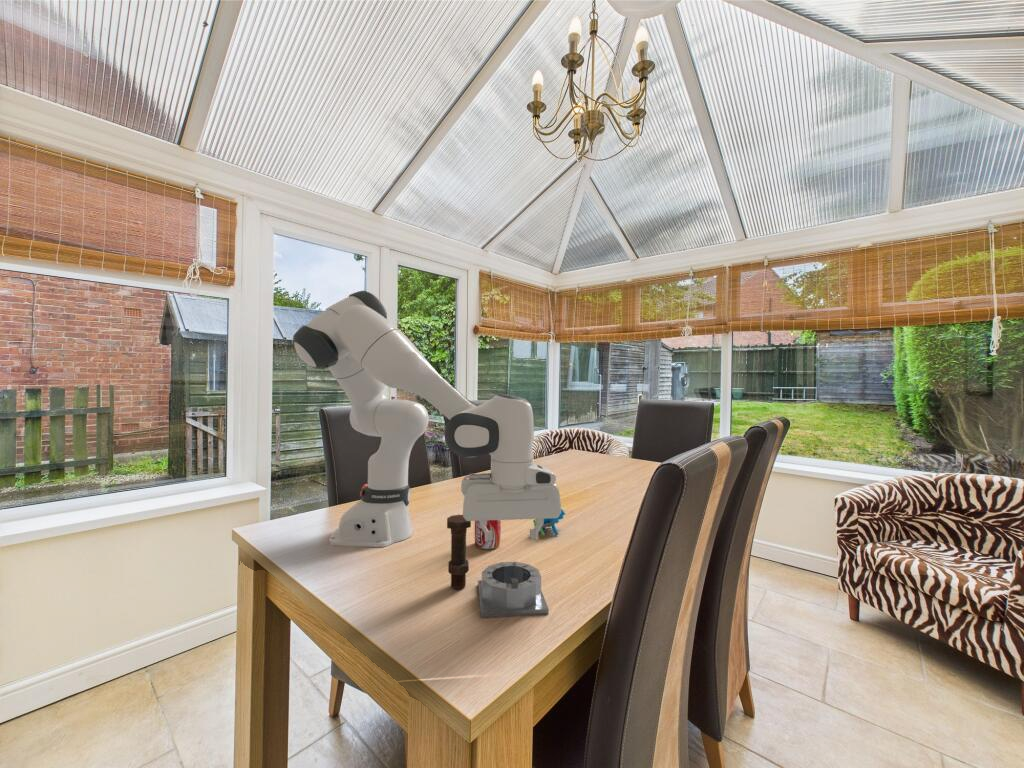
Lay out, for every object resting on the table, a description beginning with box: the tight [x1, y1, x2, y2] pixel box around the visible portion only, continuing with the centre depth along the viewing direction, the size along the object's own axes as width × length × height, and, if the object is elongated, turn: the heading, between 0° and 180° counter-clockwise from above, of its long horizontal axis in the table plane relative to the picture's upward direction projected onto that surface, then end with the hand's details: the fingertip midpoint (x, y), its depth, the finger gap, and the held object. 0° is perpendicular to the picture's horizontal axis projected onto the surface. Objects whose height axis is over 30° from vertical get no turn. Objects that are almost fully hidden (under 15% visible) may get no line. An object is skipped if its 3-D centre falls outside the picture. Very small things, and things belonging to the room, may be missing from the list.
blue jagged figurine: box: [532, 508, 566, 536], centre depth 123 cm, size 11×6×10 cm
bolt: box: [446, 514, 472, 591], centre depth 91 cm, size 6×5×15 cm
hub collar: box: [477, 561, 550, 619], centre depth 86 cm, size 13×13×6 cm
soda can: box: [474, 520, 502, 550], centre depth 114 cm, size 7×7×12 cm
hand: (511, 539), depth 86 cm, fingers open, 8 cm apart
